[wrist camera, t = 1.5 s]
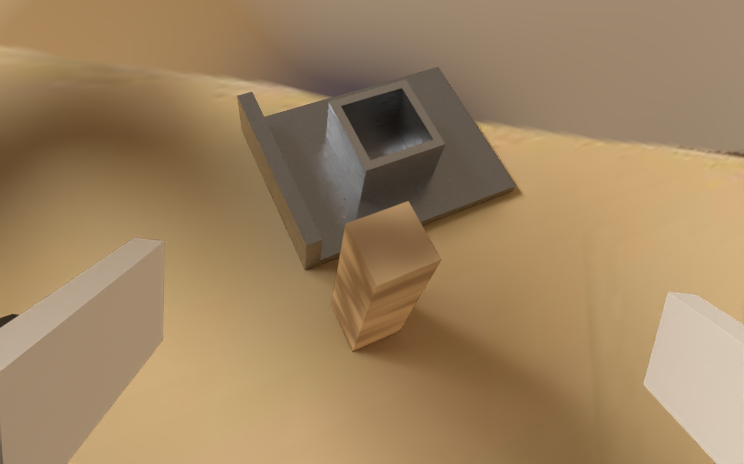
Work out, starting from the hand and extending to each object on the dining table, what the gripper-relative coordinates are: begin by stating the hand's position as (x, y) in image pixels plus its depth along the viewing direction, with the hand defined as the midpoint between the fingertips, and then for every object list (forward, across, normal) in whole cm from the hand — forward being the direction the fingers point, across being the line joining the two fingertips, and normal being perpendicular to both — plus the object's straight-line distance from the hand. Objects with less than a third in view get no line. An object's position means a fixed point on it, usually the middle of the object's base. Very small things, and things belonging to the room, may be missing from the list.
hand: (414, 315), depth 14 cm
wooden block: (+30, 0, -14) cm, 33 cm away
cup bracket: (+41, 0, -2) cm, 41 cm away
